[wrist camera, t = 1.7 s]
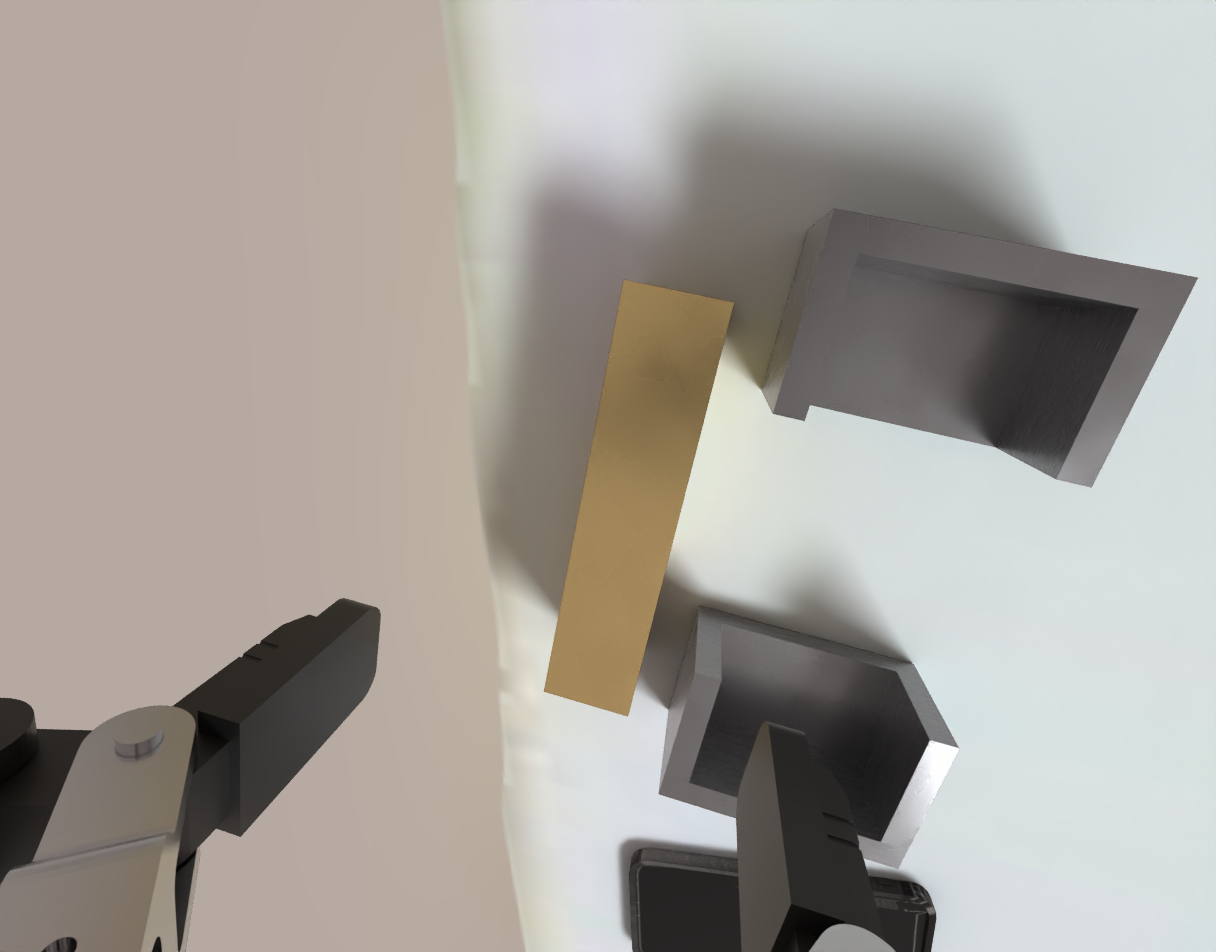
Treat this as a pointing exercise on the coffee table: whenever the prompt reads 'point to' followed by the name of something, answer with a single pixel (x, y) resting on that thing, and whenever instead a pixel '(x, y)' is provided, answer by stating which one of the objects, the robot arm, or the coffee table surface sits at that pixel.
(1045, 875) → the coffee table surface
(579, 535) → the link bar
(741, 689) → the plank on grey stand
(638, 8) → the coffee table surface
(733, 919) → the phone
